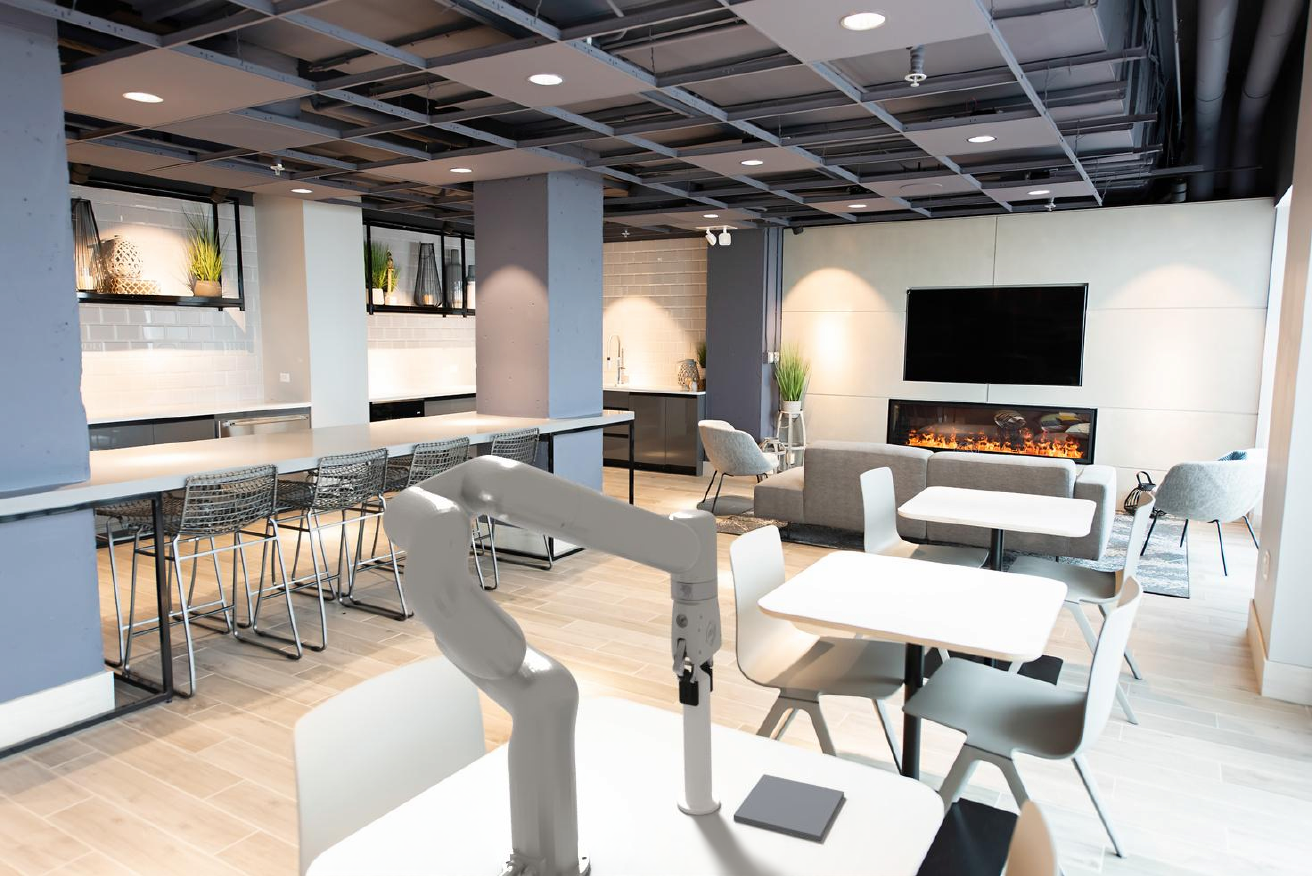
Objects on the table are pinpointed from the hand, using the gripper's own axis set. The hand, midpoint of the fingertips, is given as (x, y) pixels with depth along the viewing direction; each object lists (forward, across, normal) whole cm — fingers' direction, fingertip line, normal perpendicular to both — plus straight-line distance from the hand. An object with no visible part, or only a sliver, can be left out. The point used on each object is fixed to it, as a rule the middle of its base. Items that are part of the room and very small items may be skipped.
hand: (696, 696), depth 138 cm
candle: (+19, 0, 0) cm, 19 cm away
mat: (+18, +5, -14) cm, 24 cm away
